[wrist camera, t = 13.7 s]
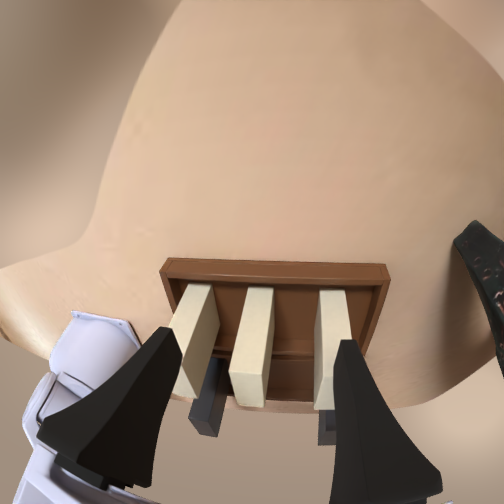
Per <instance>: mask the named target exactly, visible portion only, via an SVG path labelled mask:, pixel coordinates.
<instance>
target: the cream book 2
mask: <svg viewBox="0 0 504 504" xmlns="http://www.w3.org/2000/svg"><path fill="white" fill-rule="evenodd" d="M274 330H275V314H274V286H252V285H249V287H248V291H247V295H246V299H245V304H244V308H243V312H242V316H241V321H240V325H239V329H238V333H237V338H236V342H235V346H234V350H233V354H232V359H231V363H230V367H229V374H230V378H231V382H232V386H233V390H234V394H235V397H236V401H237V405H243V406H253V407H265V400H266V393H267V385H268V378H269V370H270V363H271V355H272V347H273V338H274Z"/></svg>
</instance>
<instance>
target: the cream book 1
mask: <svg viewBox="0 0 504 504" xmlns="http://www.w3.org/2000/svg"><path fill="white" fill-rule="evenodd" d="M219 327H220V321H219V316H218V311H217V306H216V302H215V297H214V292H213V287H212V283H196V282H189V284H188V286H187V288H186V290H185V292H184V294H183V296H182V298H181V300H180V303H179V305H178V307H177V309H176V311H175V313H174V315H173V317H172V320H171V322H170V324H169V326H168V328H172V329H173V332H174V334H175V337H176V339H177V342H178V344H179V347H180V349H181V351H182V354H183V358H182V362H181V367H180V371H179V375H178V377H177V380H176V383H175V386H174V388H173V391H172V392H173V393H174V395H179V396H184V397H189V398H194V399H198V398H199V394H200V391H201V388H202V384H203V381H204V377H205V374H206V371H207V367H208V364H209V361H210V357H211V354H212V350H213V347H214V344H215V340H216V337H217V334H218V330H219Z"/></svg>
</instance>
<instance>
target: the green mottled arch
mask: <svg viewBox="0 0 504 504" xmlns="http://www.w3.org/2000/svg"><path fill="white" fill-rule="evenodd" d="M454 244H455V246H456V248H457V250H458V252H459V253H460V255H461V257H462V259H463V261H464V263H465V265H466V267H467V270H468V272H469V275H470V277H471V279H472V281H473V283H474V285H475V287H476V289H477V292H478V294H479V296H480V299H481V301H482V304H483V306H484V309H485V311H486V314H487V317H488V321H489V324H490V328H491V331H492V334H493V337H494V340H495V344H496V356H497V359H498V363H499V365H500V368H501V371H502V374H503V377H504V242H503V241H502V240H500V239H499V238H498V237H496V236H495V235H493V234H492V233H491V232H490V231H489V230H487V229H486V228H485V227H484V226H483V225H482V224H481V223H479V222H478V221H477V220H475V221H473V222H472V223H470V224H469V225H468V227H467V228H466V229H465V230H464V232H463V233H462V234H460V235H459V236H458V237H457V238H455V239H454Z"/></svg>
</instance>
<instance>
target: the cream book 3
mask: <svg viewBox="0 0 504 504" xmlns="http://www.w3.org/2000/svg"><path fill="white" fill-rule="evenodd" d="M341 339H352V336H351V329H350V322H349V315H348V308H347V301H346V295H345V289H344V288H320V289H319V297H318V305H317V313H316V320H315V327H314V410H335V408H334V395H333V366H334V362H335V359H336V355H337V352H338V348H339V344H340V341H341Z"/></svg>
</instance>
